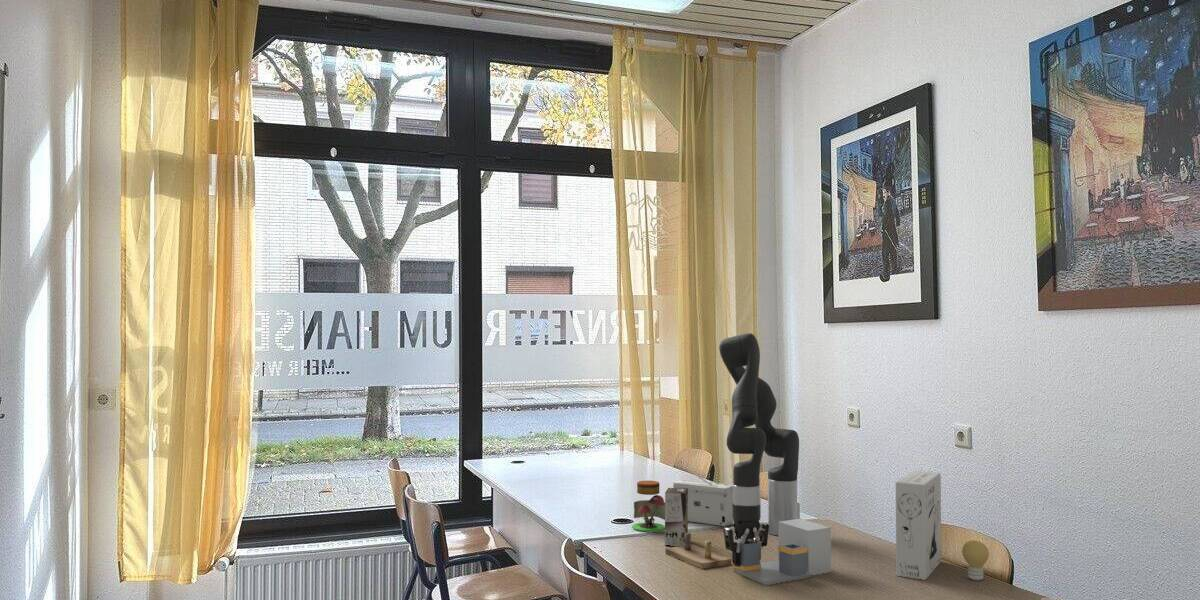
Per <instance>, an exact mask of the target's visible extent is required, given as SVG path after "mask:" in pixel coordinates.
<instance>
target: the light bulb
mask: <svg viewBox="0 0 1200 600" xmlns="http://www.w3.org/2000/svg"><path fill="white" fill-rule="evenodd" d="M961 552H962V556H963V559H964V560H965V562H966V563H967V565H968V566H967V573H968V574H967V577H968V579H970V580H973V581H982V580H983V579H984V567H983V566H984V565H985V564H986V563H987V561H988V559H989V556H990V552H989V549H988V547H987V546H986V544H985V543H983V542H981V541H979V540H968V541H966V542H965V543H964V544H963V546H962V549H961Z"/></svg>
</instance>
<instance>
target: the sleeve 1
mask: <svg viewBox="0 0 1200 600" xmlns="http://www.w3.org/2000/svg"><path fill="white" fill-rule="evenodd" d="M736 547H737V546H736ZM740 553H741V565H740V566H739V567H737V566H734V564H733V563H732V562H731V565H732V568H737V569H739V570H742V571H744V572H747V571H753V570H759V569H761V564H760V563H761V560H760V543H758V542H754V541H752V540H747V541H745V542H744V545H742V547H741V550H740Z"/></svg>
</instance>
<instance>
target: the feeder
mask: <svg viewBox="0 0 1200 600" xmlns="http://www.w3.org/2000/svg"><path fill="white" fill-rule="evenodd" d="M831 529H832V527H830V526H828V525H823V524H820V523H816V522H814V521H809V520H806V519H802V518H800V519H794V520H787V521H780V522H778V535H777V536H778V538H777V540H778V542H777V543H778V544H777V547H778V546H779V545H784V544H791V543H795V544H798V545H801V546H804V547H807V552H806V574H804V575H798V576H793V577H792V576H789V575H786V574H784V573H781V572H779V550H778V549H777V551H778V560H774V561H773V560H772V561H766V562H760V564H761V569H759V570H753V571H747V572H744V571H742V570H739V569H737V568H734V567H732V572H733V573H736V574H737V575H741V576H743V577H744V578H745V577H746V578H748V579H750V580H753V581H755V582H758V583H761V584H763V585H765V586H771V584H772V585H776V583H777V584H781V583H780V582H783V583H787V582H786V581H788V582H793V581H792V580H794V581H798V580H797V579H799V580H803V579H802V578H804V579H810V578H812V576H811V575H813V576H818V575H823V574H822V573H824V574H829V573H832V532H831V531H832V530H831ZM828 572H829V573H828ZM817 574H818V575H817ZM809 577H810V578H809Z"/></svg>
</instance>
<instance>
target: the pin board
mask: <svg viewBox="0 0 1200 600" xmlns="http://www.w3.org/2000/svg"><path fill="white" fill-rule="evenodd" d="M691 536H692V535H691V533H689V532H688V533H685V534H684V546H671V547H666V548H665V554H666V553H667V554H669V555H668V556H670V555H672V556H674V557H673V558H675V557H676V558H675V559H677V558H678V560H679V559H680V561H682V560H683V561H682V562H684V561H685V562H684V563H686V562H687V563H686V564H689V563H690V564H689V565H691V564H692V566H694V567H696V568H698V567H699V568H698V569H701V570H705V569H711V568H716V567H717V568H718V567H723V566H729V565H732V558H730V557H728V556H725V555H722V554H720V553H717V552H715V551H712V541H711V540H705V541H704V547H702V546H700V545H698V544H694V543H693V544H691V539H692V538H691ZM667 554H666V555H667ZM672 556H671V557H672ZM704 568H705V569H704Z"/></svg>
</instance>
